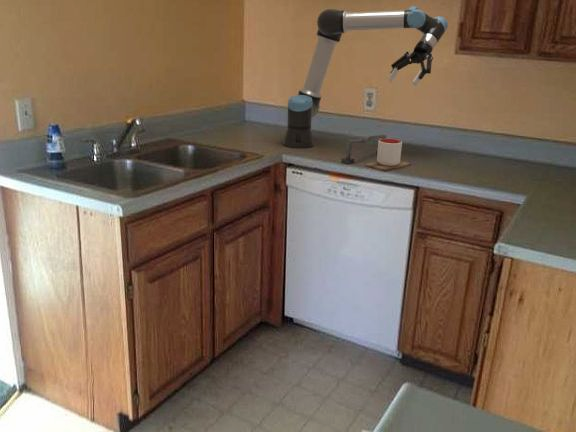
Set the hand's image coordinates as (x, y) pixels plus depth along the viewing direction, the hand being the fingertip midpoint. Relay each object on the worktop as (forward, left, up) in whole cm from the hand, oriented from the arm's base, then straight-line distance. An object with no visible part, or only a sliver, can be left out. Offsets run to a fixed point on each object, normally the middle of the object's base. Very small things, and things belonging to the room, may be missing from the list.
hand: (401, 82), depth 242 cm
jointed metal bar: (-4, -16, -34) cm, 37 cm away
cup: (+9, -17, -33) cm, 38 cm away
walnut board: (+9, -17, -34) cm, 39 cm away
